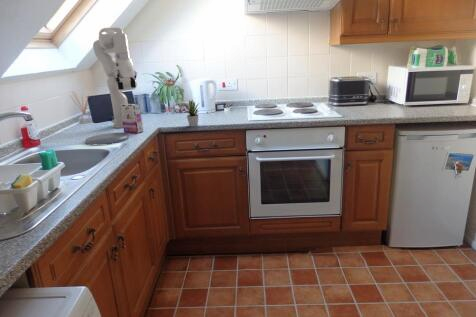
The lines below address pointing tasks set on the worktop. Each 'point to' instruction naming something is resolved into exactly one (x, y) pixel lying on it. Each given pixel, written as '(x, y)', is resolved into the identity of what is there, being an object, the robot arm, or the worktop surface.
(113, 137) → the plate
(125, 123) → the candy bar box
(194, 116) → the house plant
